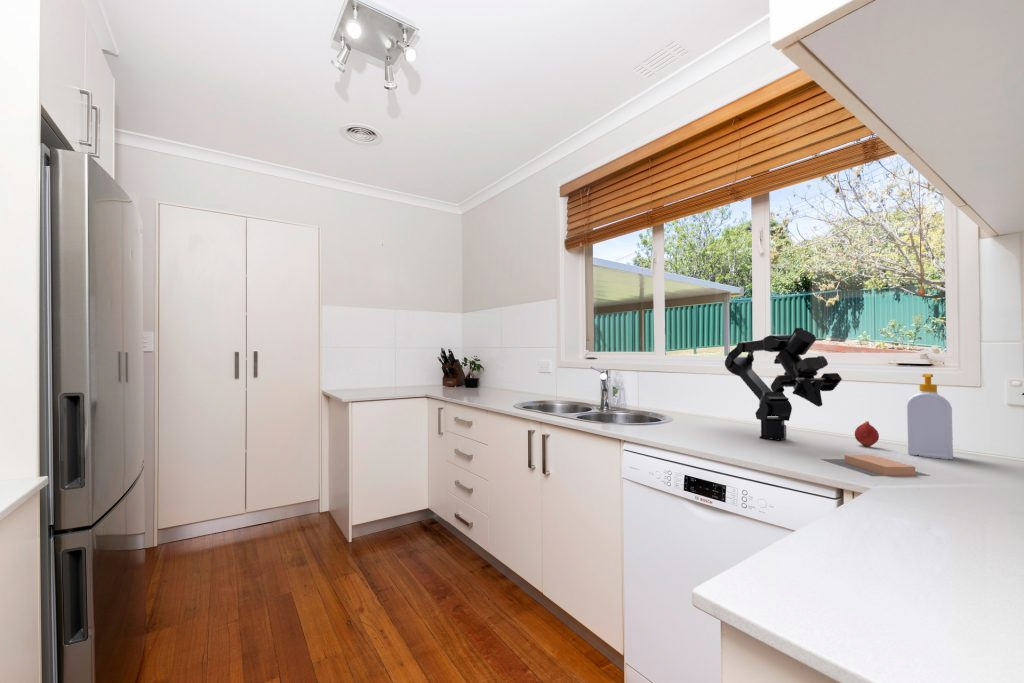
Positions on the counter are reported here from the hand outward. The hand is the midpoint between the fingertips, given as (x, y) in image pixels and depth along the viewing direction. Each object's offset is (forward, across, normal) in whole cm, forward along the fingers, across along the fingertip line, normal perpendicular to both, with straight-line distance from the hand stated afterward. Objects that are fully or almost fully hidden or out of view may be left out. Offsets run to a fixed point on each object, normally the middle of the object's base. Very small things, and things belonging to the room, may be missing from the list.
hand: (820, 405), depth 127 cm
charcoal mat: (+22, 0, -3) cm, 22 cm away
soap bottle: (+14, +27, +7) cm, 31 cm away
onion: (+6, +19, +15) cm, 25 cm away
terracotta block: (+18, 0, -1) cm, 18 cm away
